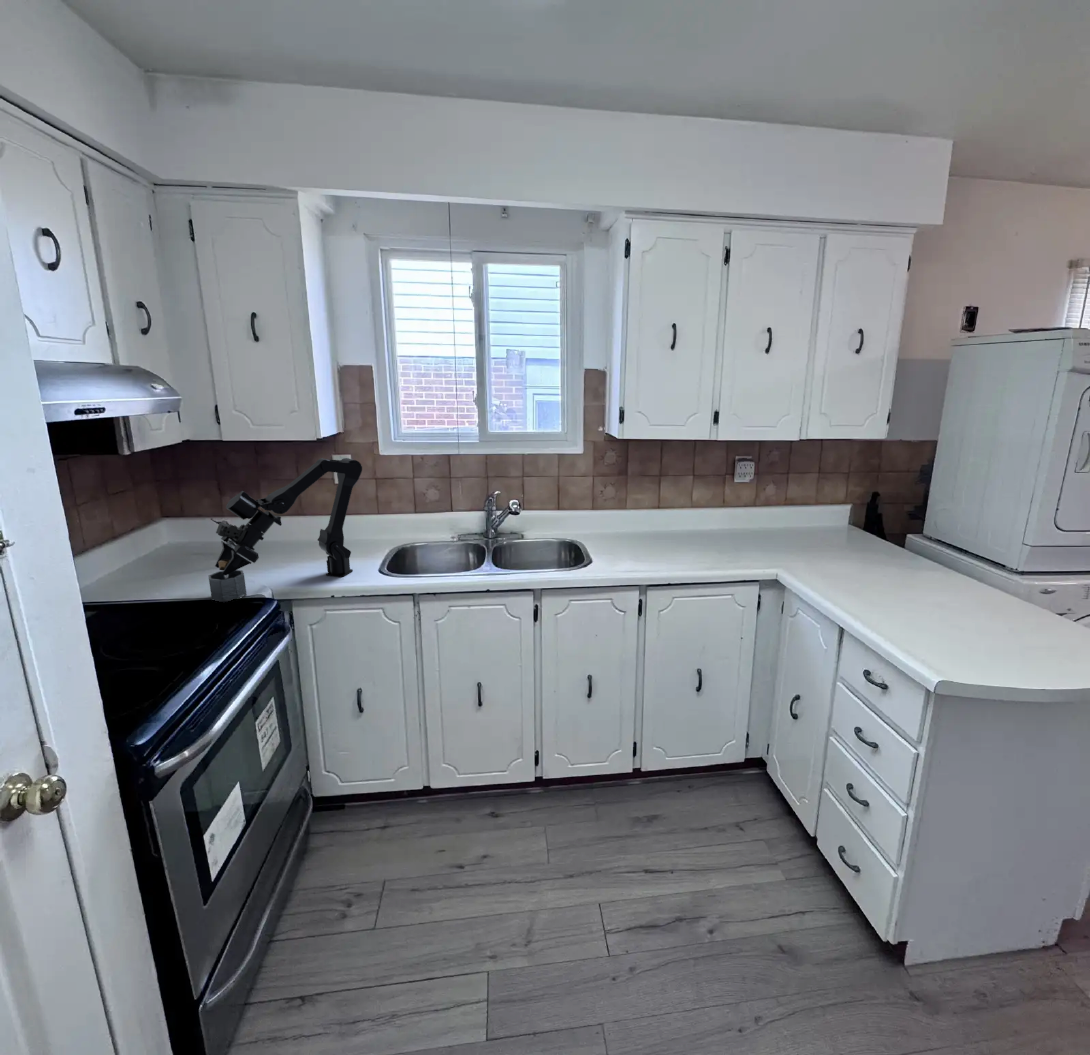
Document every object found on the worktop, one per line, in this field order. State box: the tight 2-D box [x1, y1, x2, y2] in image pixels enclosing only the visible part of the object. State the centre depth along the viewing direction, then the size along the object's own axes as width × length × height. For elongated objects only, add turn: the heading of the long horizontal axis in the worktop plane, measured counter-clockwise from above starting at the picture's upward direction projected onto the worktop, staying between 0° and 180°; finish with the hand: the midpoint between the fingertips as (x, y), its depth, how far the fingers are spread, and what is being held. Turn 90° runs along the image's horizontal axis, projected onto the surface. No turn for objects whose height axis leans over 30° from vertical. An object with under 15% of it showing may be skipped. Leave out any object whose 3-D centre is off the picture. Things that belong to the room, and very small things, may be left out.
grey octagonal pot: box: [208, 569, 247, 604], centre depth 166 cm, size 9×9×7 cm
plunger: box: [218, 560, 230, 579], centre depth 165 cm, size 7×7×10 cm
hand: (220, 570), depth 164 cm, fingers open, 8 cm apart
